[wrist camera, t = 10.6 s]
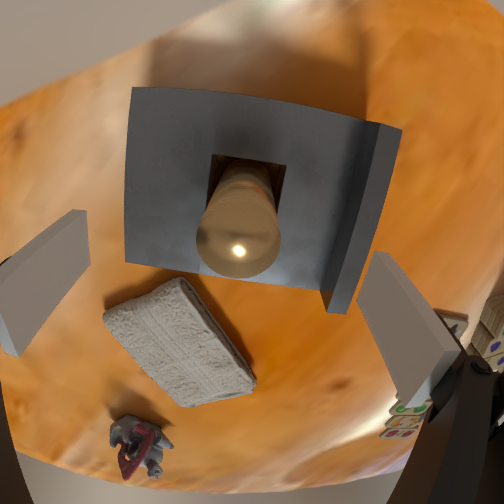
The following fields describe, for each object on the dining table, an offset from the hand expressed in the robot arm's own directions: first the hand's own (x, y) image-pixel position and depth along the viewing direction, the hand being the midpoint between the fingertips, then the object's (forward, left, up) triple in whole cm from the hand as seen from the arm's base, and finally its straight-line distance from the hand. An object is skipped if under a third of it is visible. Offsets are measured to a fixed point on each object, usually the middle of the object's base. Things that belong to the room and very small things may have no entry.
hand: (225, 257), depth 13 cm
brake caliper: (-11, -43, -14) cm, 46 cm away
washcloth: (-4, -20, -14) cm, 25 cm away
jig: (0, 0, -14) cm, 14 cm away
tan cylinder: (0, 0, -14) cm, 14 cm away
